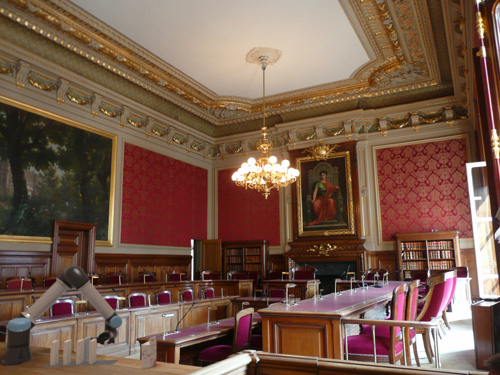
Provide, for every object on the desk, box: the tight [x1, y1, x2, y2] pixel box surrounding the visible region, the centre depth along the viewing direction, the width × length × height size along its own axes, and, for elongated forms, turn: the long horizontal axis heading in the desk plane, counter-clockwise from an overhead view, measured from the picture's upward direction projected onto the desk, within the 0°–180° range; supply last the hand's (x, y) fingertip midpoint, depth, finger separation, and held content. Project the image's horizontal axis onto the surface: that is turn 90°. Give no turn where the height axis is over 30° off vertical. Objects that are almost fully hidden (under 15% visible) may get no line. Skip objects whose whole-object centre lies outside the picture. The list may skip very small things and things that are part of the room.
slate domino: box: [83, 336, 92, 361], centre depth 240 cm, size 2×6×12 cm, turn 0°
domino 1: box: [49, 339, 60, 366], centre depth 230 cm, size 2×6×12 cm, turn 0°
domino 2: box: [62, 339, 73, 365], centre depth 230 cm, size 2×6×12 cm, turn 0°
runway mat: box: [42, 359, 119, 368], centre depth 229 cm, size 38×10×1 cm, turn 90°
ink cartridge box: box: [140, 335, 157, 369], centre depth 222 cm, size 9×5×15 cm, turn 168°
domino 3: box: [75, 338, 85, 365], centre depth 230 cm, size 2×6×12 cm, turn 0°
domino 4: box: [88, 339, 98, 364], centre depth 230 cm, size 2×6×12 cm, turn 0°
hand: (93, 344), depth 249 cm, fingers open, 13 cm apart
